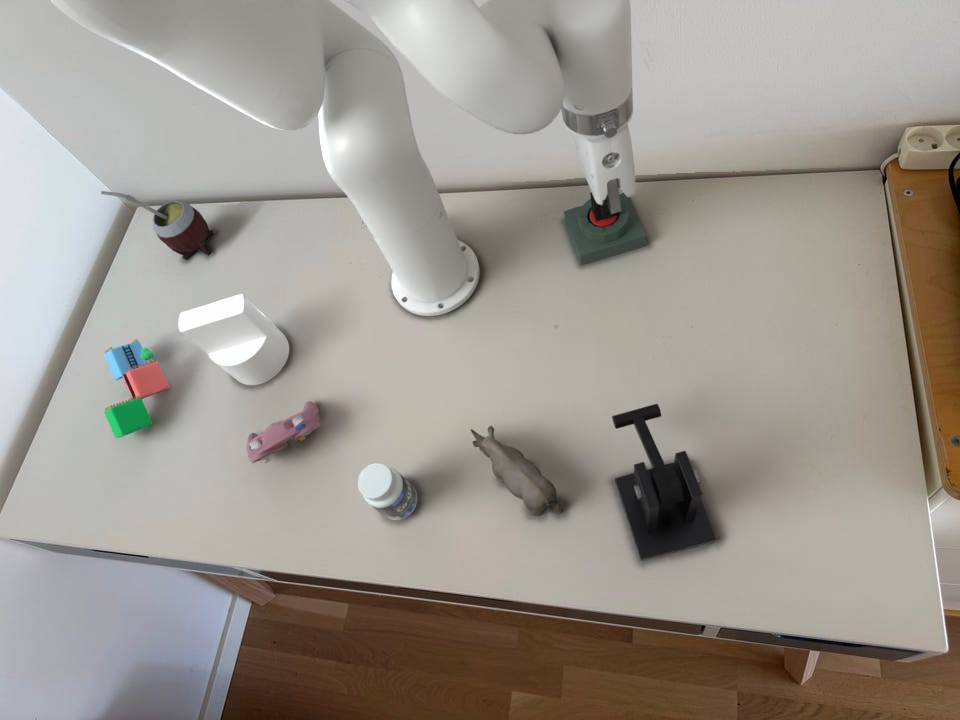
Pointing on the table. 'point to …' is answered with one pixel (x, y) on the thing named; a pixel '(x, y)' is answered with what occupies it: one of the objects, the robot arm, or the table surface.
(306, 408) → the pink toy car
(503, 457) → the rhino figurine
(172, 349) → the table surface
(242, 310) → the white rounded block
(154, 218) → the mate gourd
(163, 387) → the building blocks
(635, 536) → the bracket
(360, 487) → the pill bottle
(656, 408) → the lever
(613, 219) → the button
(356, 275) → the table surface
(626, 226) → the button block
